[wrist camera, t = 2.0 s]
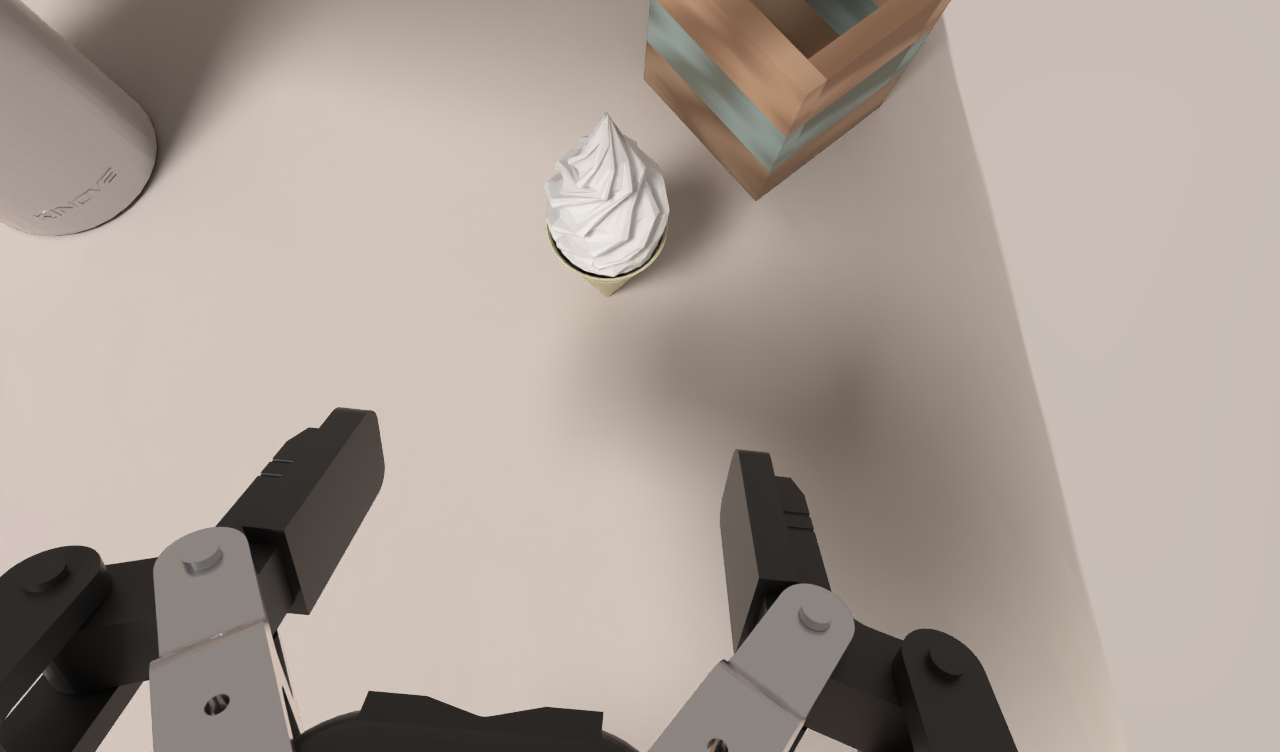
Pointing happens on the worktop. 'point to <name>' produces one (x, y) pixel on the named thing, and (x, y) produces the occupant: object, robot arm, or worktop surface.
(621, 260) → the ice cream cone
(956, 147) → the worktop surface
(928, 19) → the square wooden crate
